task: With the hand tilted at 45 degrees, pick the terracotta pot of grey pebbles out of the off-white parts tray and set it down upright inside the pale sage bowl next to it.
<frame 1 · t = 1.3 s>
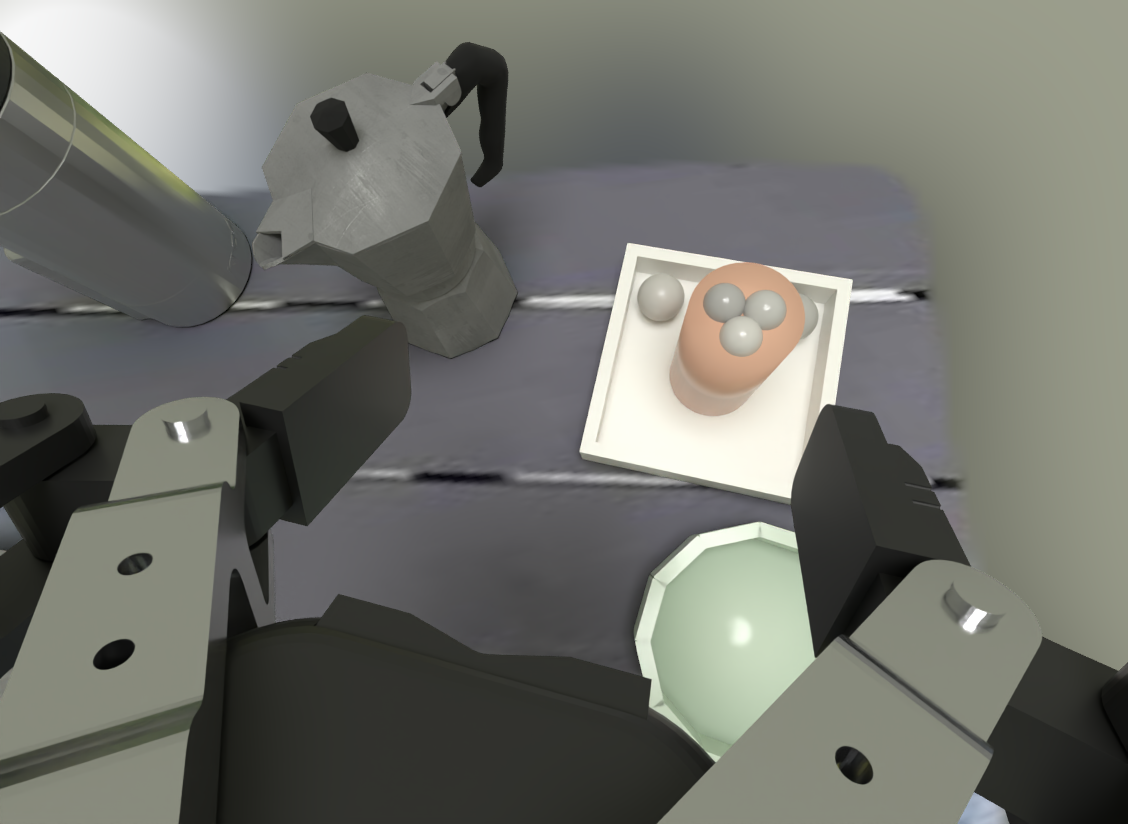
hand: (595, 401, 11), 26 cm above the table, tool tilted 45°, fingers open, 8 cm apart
pebble pot: (711, 375, 36), point 1 cm above the table, touching parts tray
parts tray: (709, 378, 37), on the table
coffeepot: (465, 288, 40), on the table
sage bowl: (747, 639, 33), on the table
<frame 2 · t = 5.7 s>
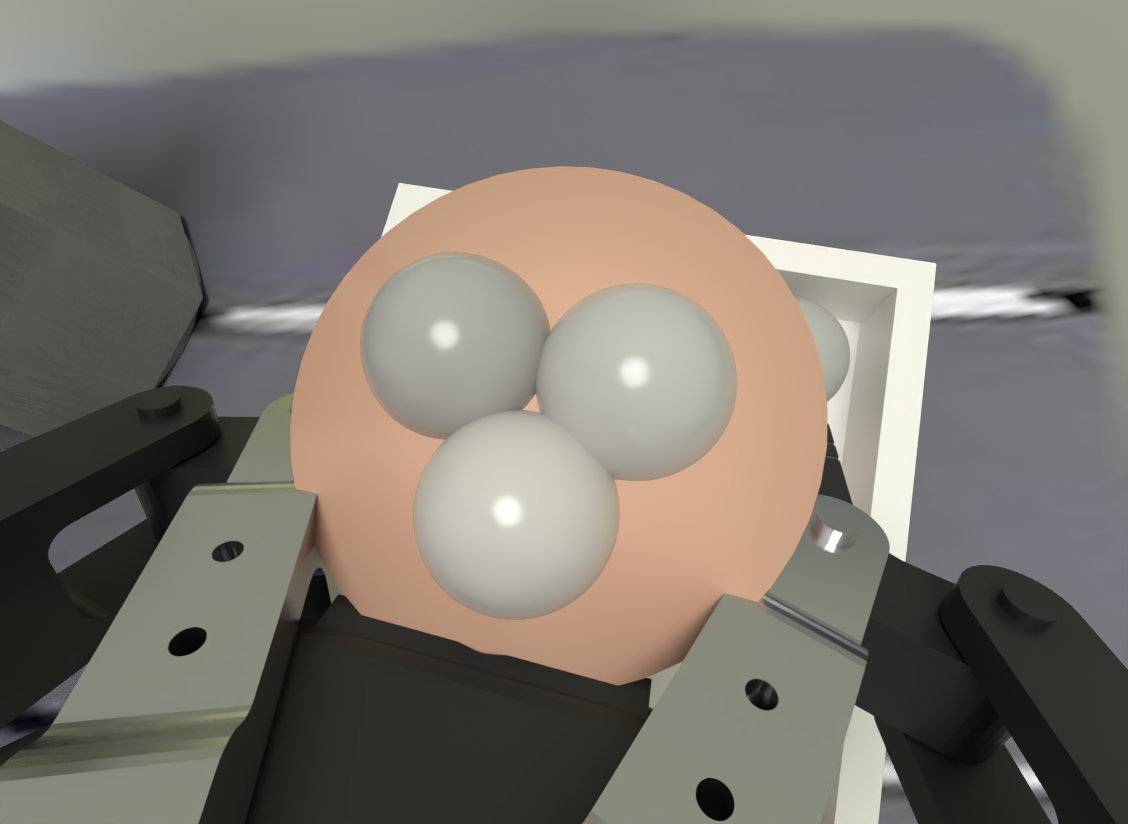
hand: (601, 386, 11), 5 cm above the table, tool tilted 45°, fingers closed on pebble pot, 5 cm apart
pebble pot: (594, 492, 15), point 1 cm above the table, touching gripper, parts tray
parts tray: (595, 495, 16), on the table
coffeepot: (112, 290, 20), on the table
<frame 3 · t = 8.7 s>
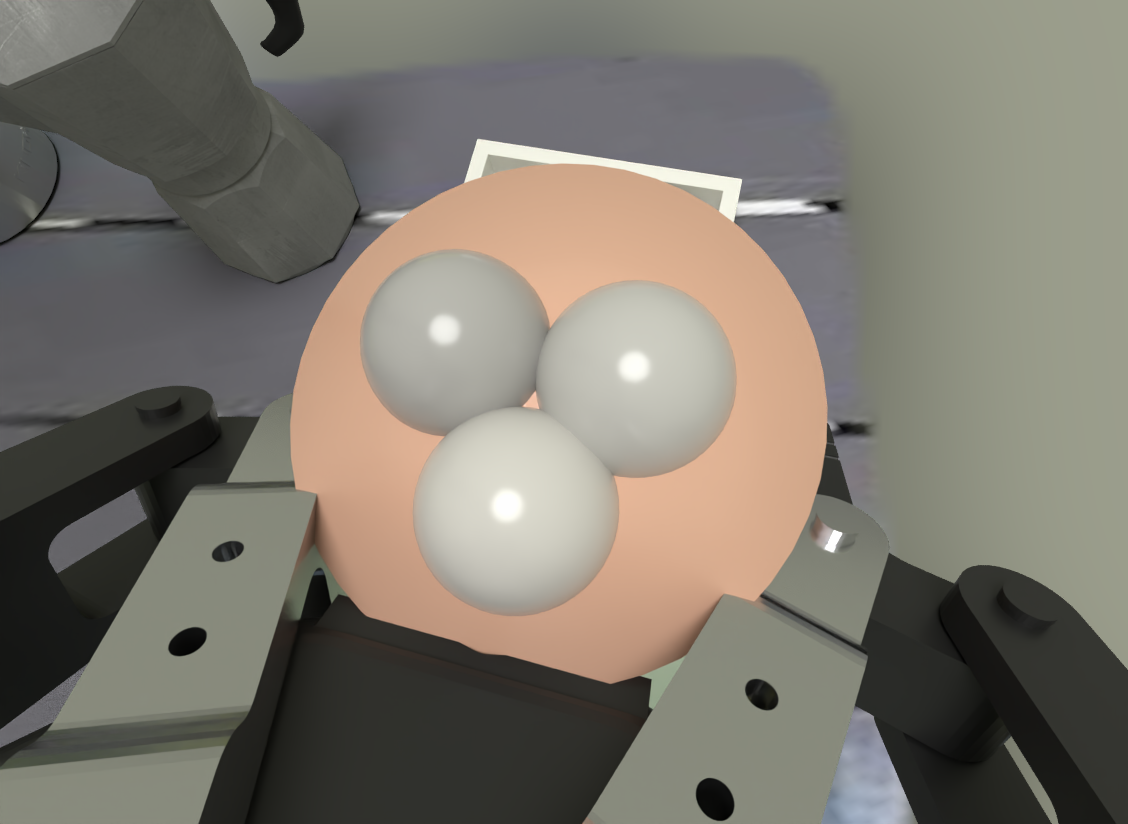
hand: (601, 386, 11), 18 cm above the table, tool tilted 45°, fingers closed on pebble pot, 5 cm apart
pebble pot: (594, 491, 15), point 13 cm above the table, touching gripper
parts tray: (578, 305, 31), on the table
coffeepot: (302, 203, 34), on the table
sage bowl: (604, 616, 27), on the table
when the fingers open (6 cm above the table, at t = 11.7 s): pebble pot drops 1 cm, resting on sage bowl.
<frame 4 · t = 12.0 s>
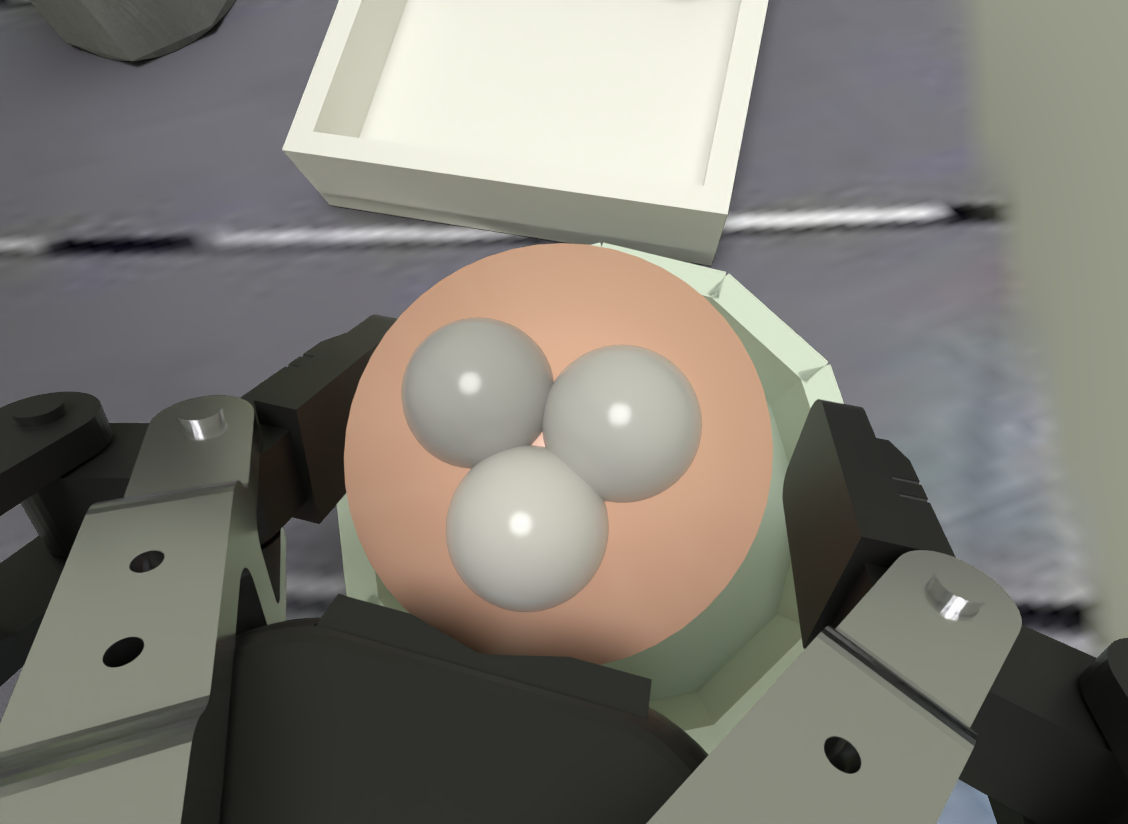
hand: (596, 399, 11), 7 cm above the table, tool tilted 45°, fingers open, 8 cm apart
pebble pot: (591, 499, 17), point 1 cm above the table, touching sage bowl
parts tray: (556, 68, 21), on the table
sage bowl: (597, 498, 17), on the table
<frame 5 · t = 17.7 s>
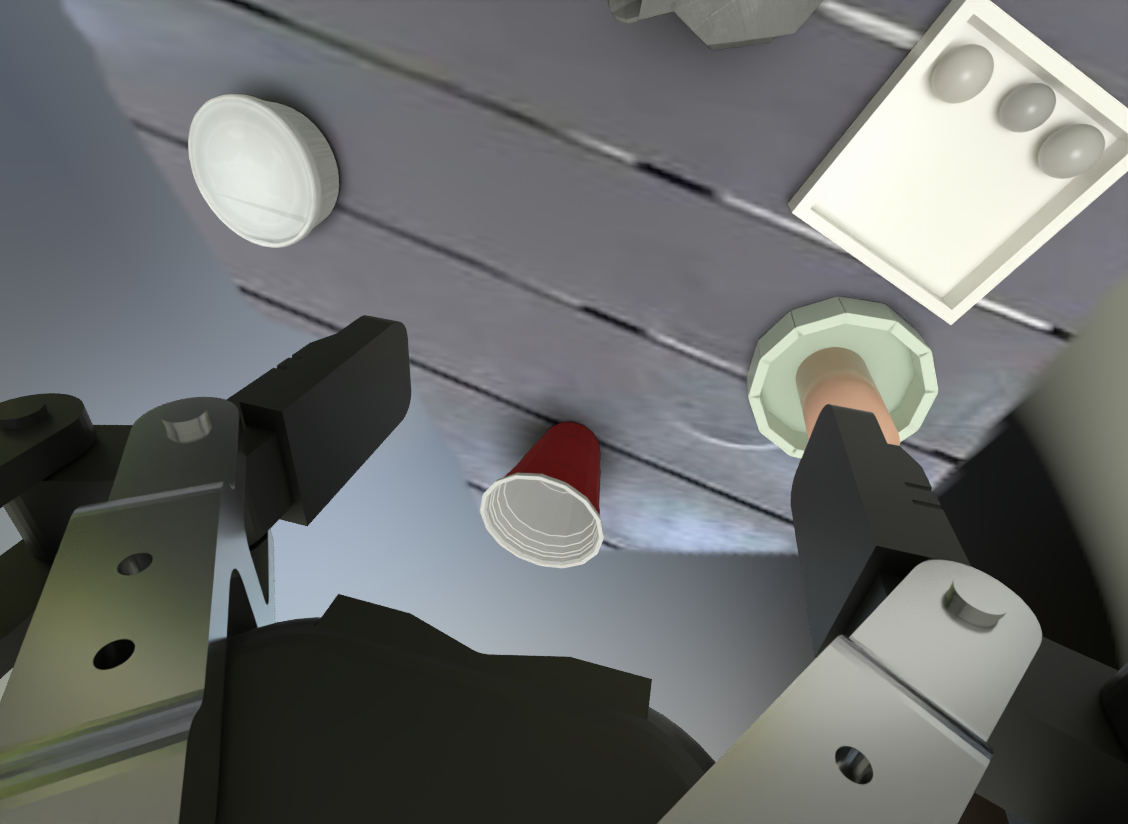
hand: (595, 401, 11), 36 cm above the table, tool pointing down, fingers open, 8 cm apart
pebble pot: (831, 377, 46), point 1 cm above the table, touching sage bowl
ramekin: (294, 166, 49), on the table
parts tray: (945, 171, 38), on the table
plastic cup: (571, 445, 57), on the table
sage bowl: (831, 373, 47), on the table
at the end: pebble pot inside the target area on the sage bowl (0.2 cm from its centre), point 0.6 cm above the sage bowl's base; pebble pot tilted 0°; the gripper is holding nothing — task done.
